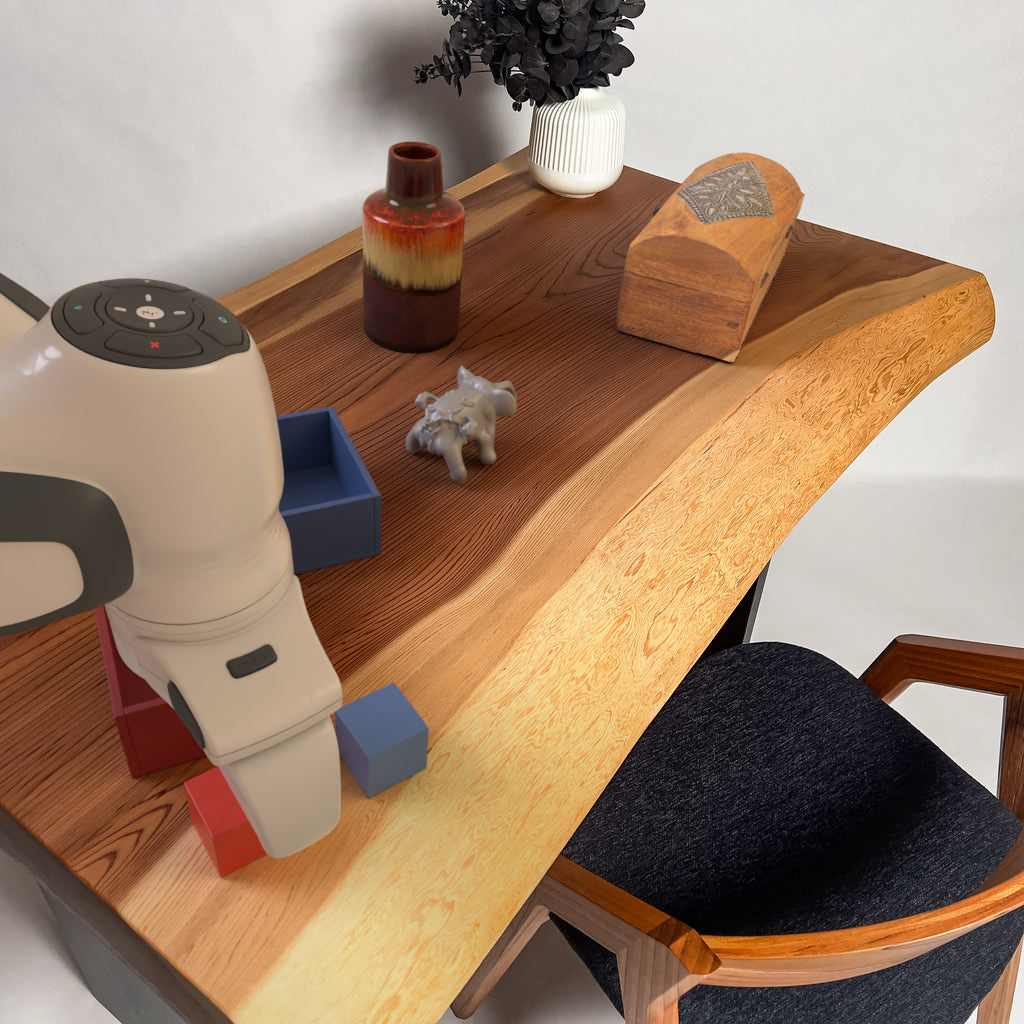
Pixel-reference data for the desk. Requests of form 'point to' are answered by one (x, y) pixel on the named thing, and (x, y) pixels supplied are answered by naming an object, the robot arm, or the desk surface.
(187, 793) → the red block
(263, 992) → the desk surface
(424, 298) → the vase
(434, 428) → the grey animal figurine
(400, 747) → the blue block
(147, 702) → the red bin
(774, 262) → the wooden box
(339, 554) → the blue bin
